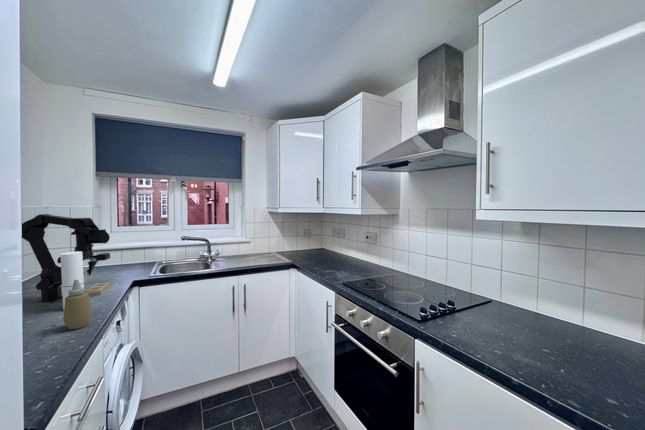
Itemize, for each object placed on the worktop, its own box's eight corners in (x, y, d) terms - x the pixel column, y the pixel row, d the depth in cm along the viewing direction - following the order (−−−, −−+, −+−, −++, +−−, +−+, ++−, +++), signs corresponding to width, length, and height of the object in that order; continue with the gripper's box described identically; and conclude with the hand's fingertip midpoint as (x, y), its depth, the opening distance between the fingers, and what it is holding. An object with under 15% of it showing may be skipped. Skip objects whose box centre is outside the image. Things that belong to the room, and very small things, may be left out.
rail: (100, 294, 137) (100, 289, 136) (83, 296, 134) (83, 291, 134) (112, 286, 150) (111, 282, 150) (96, 287, 147) (96, 283, 147)
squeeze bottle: (97, 321, 106) (95, 277, 105) (80, 331, 98) (77, 283, 97) (77, 321, 106) (74, 277, 105) (57, 331, 97) (54, 283, 97)
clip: (85, 283, 126) (85, 271, 126) (77, 284, 125) (77, 271, 125) (93, 278, 134) (93, 267, 134) (86, 279, 133) (85, 267, 133)
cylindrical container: (83, 303, 125) (80, 250, 123) (86, 307, 120) (83, 252, 119) (62, 308, 119) (59, 253, 118) (64, 312, 115) (61, 255, 113)
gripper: (48, 247, 118) (50, 281, 119) (99, 244, 124) (101, 277, 125) (63, 243, 129) (65, 275, 129) (110, 241, 135) (111, 271, 136)
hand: (85, 275), depth 130 cm, fingers closed on clip, 3 cm apart
